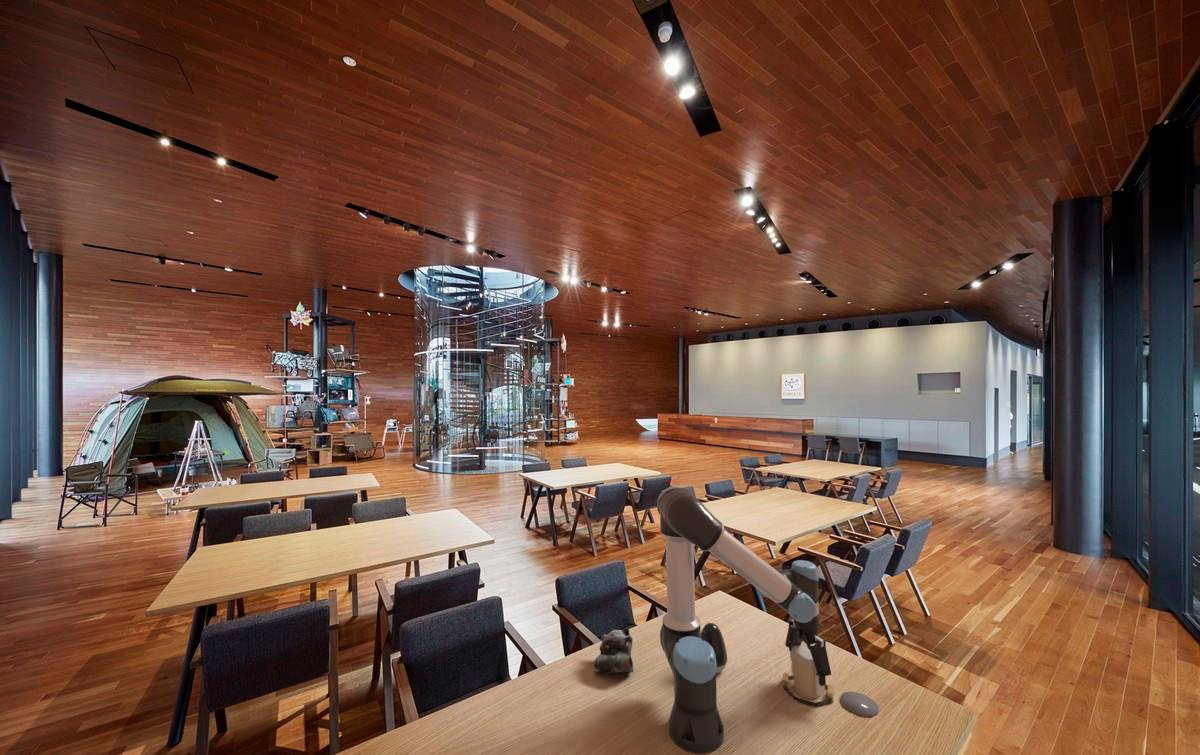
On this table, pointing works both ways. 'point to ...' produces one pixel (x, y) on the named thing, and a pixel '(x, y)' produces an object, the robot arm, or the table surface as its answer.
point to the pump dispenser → (715, 644)
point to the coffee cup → (804, 671)
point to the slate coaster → (859, 704)
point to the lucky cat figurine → (615, 652)
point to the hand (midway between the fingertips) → (807, 683)
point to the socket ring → (830, 699)
